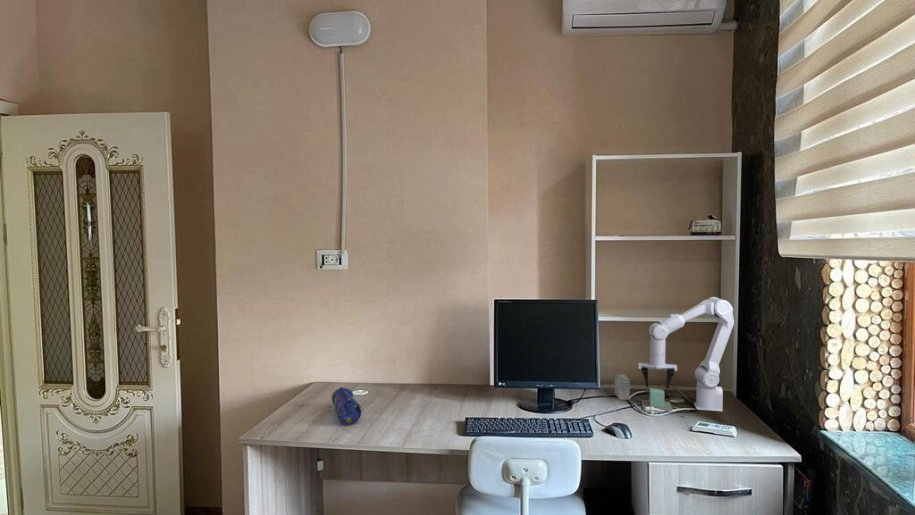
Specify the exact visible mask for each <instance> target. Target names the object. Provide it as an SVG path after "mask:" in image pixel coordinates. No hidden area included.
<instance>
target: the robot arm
mask: <svg viewBox="0 0 915 515" xmlns="http://www.w3.org/2000/svg"><path fill="white" fill-rule="evenodd" d="M733 311H734V308H733V306H732V305H731V303H730V302H729V301H728V300H725V299H722V298H719V297H717V296H711V297H709V298H708V299H704V300H702V301H701V302H700V303H698V304H697V305H695V306H693V307H691V308H689V309H688V310H686V311H685V312H682V313H681V314H679V313H674V314H673V313H670V314H669V316H668V317H667V318H664V319H660V320H659V321H658V322H654V323H652V324H651V325H650V326H649V328H648V333H649V335H650V342H649V343H650V344H649V361H650V362H638V363H637V364H638V365H637V368H638V369H639V370H641V373H642V375H643V378H644V380H645V386H646V388H649V379H648V378H649V370H660V371H661V370H664V371H666V379H665V380H666V381H665V387H666V389H669V388H670V387H669V386H670V383H671V381H672V379H673V376H674V375H675V372H676V371H678V365H677V364H673V363H672V364H671V363H666V338H667V337H668V336H669V335H670V334H671V333H674V332H675V331H678V330H679V329H681V328H684V326H685V323H687V322H688V321H690V320H694V319H695V318H697V317H699V316H702V315H712V316H713V317H714V318H715V320H716V321H717V326H716V328H715V331H714V334H713V336H712V339H711V342H710V344H709V346H708V349H707V352H706V356H705V359H703V361H701V362H700V364H699V366H698V367H697V368H696V369H695V371H694V377H695V379H696V381H697V382H696V392H695V393H696V396H695V397H696V398H695V400H696V401H695V402H693V404H694V407H695V409H696V410H697V411H712V412H724V411H723V402H724V401H723V399H724V396H723V395H724V394H723V393H724V391H723V387H722V386H718V385H719V383H720V375H721V374H720V373H721V369H720V363H721V360H722V357H723V355H724V352H725V350H726V347H727V344H728V342H729V339H730V335H731V333H732V330H733V327H734V326H735V319H734V314H733V313H734V312H733Z"/></svg>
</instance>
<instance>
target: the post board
mask: <svg viewBox="0 0 915 515" xmlns="http://www.w3.org/2000/svg"><path fill="white" fill-rule="evenodd" d="M640 403H641V407H642V411H643V410H645V409H646V407H648V406H650V404H649V399H641V401H640ZM659 409H661V410H665V411H670V410H671V411H672V410H673V407H672V404H671V401H665V400H664V408H660V407H659Z"/></svg>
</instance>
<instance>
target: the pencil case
mask: <svg viewBox="0 0 915 515" xmlns="http://www.w3.org/2000/svg"><path fill="white" fill-rule="evenodd" d="M331 402H332V404H333V406H334V409H335V411H336V415H337V418H338V420H339V422H340V423H341V424H342V425H345V426H352V425H354V424H356V423H357V422H358V421H359V420H360V418H361V416H362V407H361V404H359V403H358V401H357V400H356V399H355V398H354V394H353V391H352V390H351V389H349V388H347V387H339V388H338V389H335V390H334V391H333V393H332V394H331Z"/></svg>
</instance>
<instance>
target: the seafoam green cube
mask: <svg viewBox="0 0 915 515" xmlns="http://www.w3.org/2000/svg"><path fill="white" fill-rule="evenodd" d="M648 398H649V399H648V400H649V404H650V406H654V407H657V406H658V407H660V408H664V401H665V390H664V388H659V387H658V388H657V387H655V388H654V387H649V397H648Z"/></svg>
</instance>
